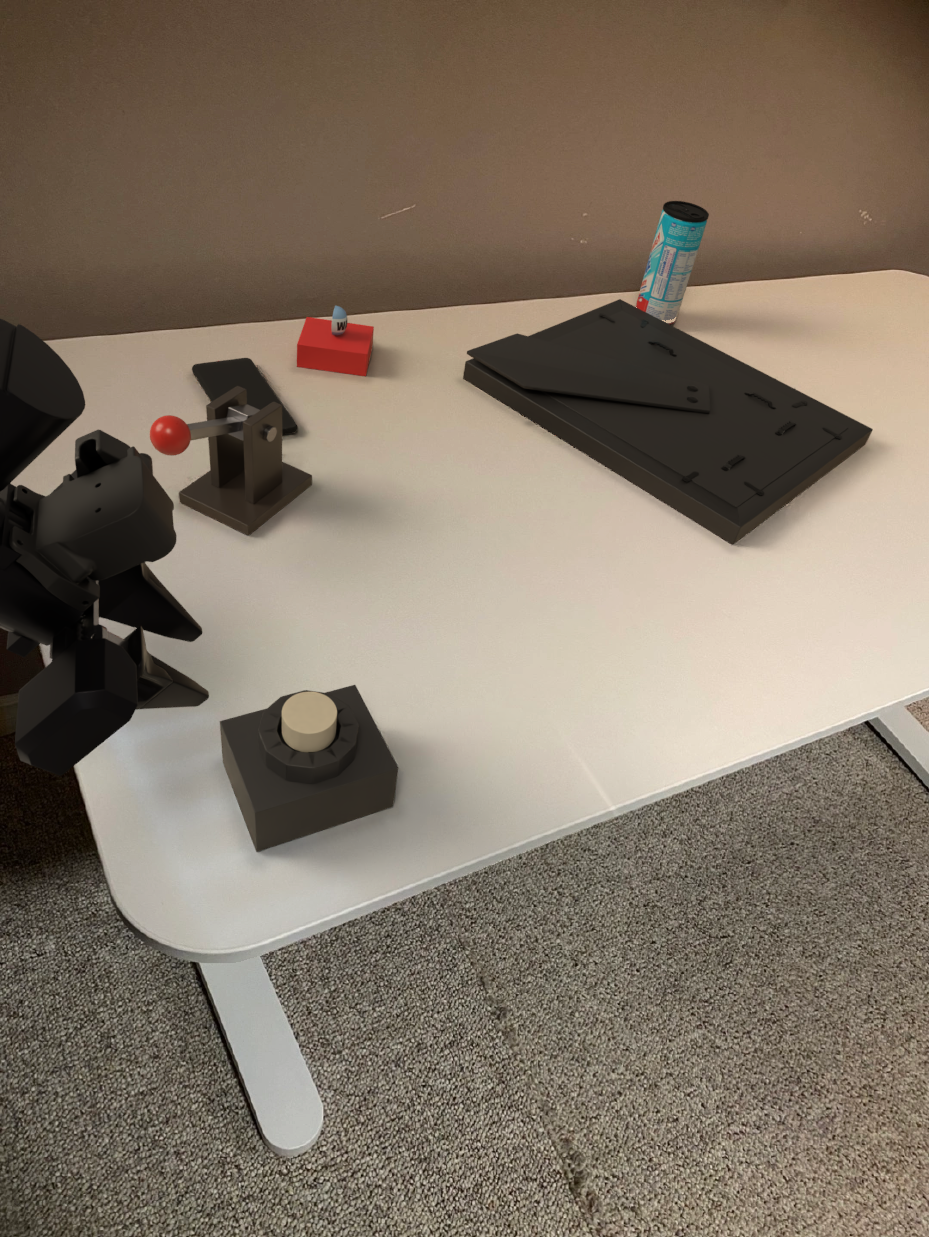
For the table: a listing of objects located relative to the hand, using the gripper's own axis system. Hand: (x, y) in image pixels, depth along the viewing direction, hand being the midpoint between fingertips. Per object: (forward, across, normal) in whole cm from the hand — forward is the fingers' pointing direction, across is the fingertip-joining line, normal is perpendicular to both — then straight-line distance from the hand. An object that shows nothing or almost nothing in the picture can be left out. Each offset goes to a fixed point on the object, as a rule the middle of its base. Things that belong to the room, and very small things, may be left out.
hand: (200, 666), depth 55 cm
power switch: (+5, +31, +2) cm, 31 cm away
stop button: (+10, 0, +1) cm, 10 cm away
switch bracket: (+14, +34, +6) cm, 38 cm away
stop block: (+14, 0, +5) cm, 15 cm away
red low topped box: (+23, +60, -3) cm, 64 cm away
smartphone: (+15, +51, +5) cm, 53 cm away
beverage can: (+56, +69, -36) cm, 95 cm away
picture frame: (+50, +46, -30) cm, 74 cm away
